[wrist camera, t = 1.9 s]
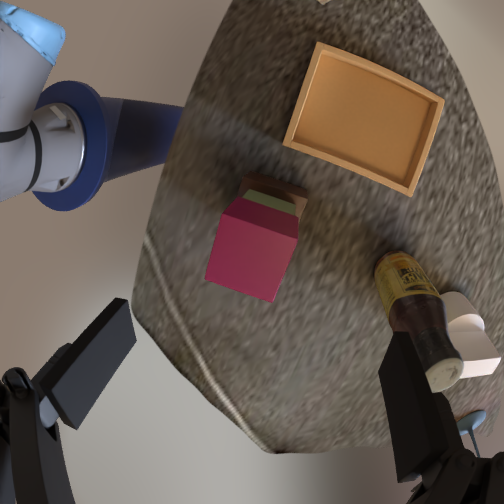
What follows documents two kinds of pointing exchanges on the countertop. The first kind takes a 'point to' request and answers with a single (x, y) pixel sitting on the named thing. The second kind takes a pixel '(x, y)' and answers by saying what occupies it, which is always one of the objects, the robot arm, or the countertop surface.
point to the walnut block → (275, 190)
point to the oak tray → (364, 118)
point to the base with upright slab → (469, 336)
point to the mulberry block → (252, 248)
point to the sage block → (270, 201)
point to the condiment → (323, 1)
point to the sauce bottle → (418, 316)
